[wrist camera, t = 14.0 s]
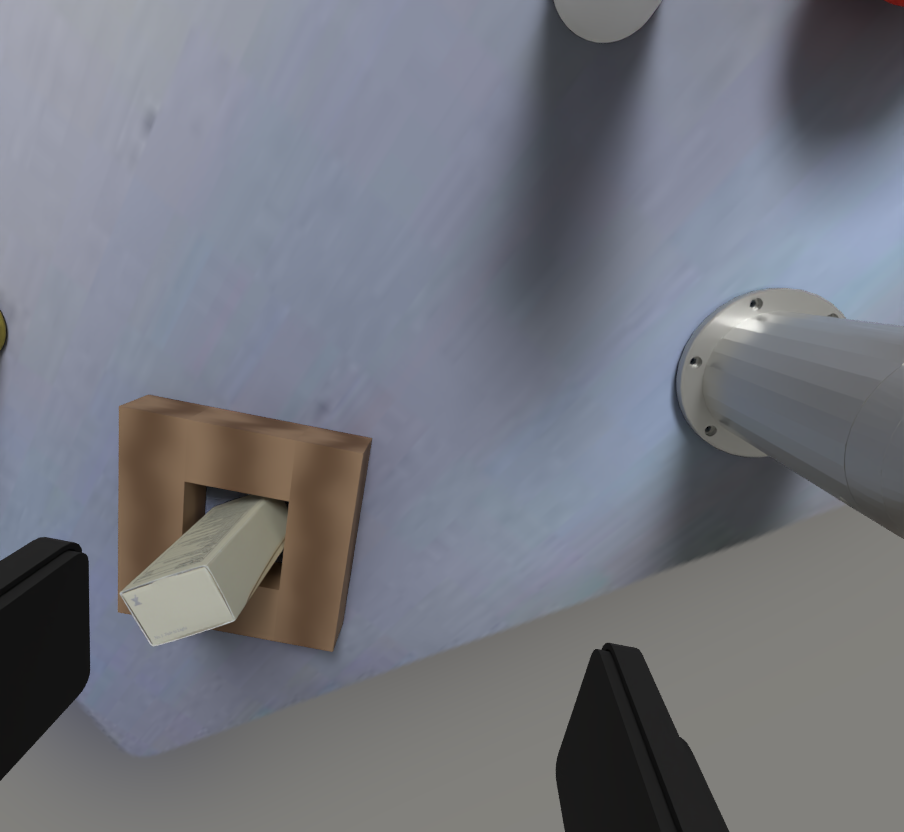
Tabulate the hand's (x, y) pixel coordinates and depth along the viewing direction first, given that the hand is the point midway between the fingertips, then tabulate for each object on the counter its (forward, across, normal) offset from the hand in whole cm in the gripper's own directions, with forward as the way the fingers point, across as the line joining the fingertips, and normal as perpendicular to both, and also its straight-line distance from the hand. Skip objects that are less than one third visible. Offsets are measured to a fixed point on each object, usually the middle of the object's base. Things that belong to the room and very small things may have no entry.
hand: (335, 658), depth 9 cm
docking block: (+30, +13, +16) cm, 37 cm away
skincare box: (+31, +13, +16) cm, 37 cm away
